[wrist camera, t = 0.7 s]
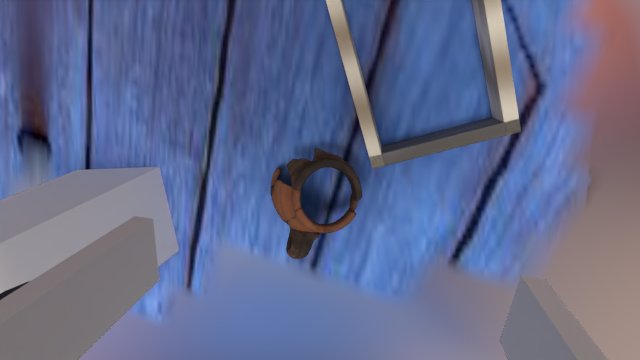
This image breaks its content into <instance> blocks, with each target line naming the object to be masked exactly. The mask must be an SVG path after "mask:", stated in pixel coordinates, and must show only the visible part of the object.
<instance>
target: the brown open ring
mask: <svg viewBox="0 0 640 360" xmlns="http://www.w3.org/2000/svg"><path fill="white" fill-rule="evenodd" d="M286 167H287V168H288V170H289V174H290V177H291V182H292V186H290V185H288V184H285V183H284V182H283V181H281V180H278V181H277V179H278V176H279V174H280V172H281V170H280V169H279V168H277V169H276V170H275V172H274V174H273V178H272V181H271V196H272V201H273V204H274V207H275V208H276V211H277V213H278V214H279V216H280V217H281V219H282V220H283V221H284V222H286V223H287V224H288V225H289V226H290V233H289V238H288V242H287V248H286V249H287V250H286V252H287V254H288V255H289V256H290V257H292V258H293V259H296V258H297V259H301V258H304V257H306V256H307V255H308V253H309V251H310V249H311V246H312V243H313V241H314V240H315V239H316V238H317V237H319V235H320V233H331V232H335V231H338V230H340V229H342V228H344V227H345V226H347V225H348V224H349V223H350V222H351V221H352V220H353V218H354V217H355V215H356V213H355V212H354V210H355V209H356V206H357V203H358V200H359V199H360V198H361V197H362V191H361V186H360V182H359V179H358V177H357V175H356V173H355V171H354V170H353V168H352V167H351V166H350V164H349V163H348V162H347V161H345V162H344V160H343V159H342V158H341V157H339V156H337V155H334V154H330V153H327V152H324V151H322V150H319V149H315V154H314V159H313V161H310V160H308V159H299V160H297V159H292V160H291V161H290V162H289V163H288V164H287V165H286ZM324 167H332V168H335V169H338V170H340V171H341V172H342V173H344V174H345V176H346V177H347V178H348V180H349V182H350V184H351V188H352V195H351V199H350V208H349V209H348V210H347V212H346V213H345V214H344V215H343V216H342V217H341V218H340V219H339V220H337V221H336V222H333V223H330V224H318V223H316V222H313V221H312V220H310V219H309V218H308V217H307V216H306V214H305V213H304V211H303V209H302V206H301V200H300V196H301V188H302V186H303V184H304V182H305V180H306V179H307V177H308V176H309V175H311V174H312V173H313V172H314V171H316V170H318V169H320V168H324Z"/></svg>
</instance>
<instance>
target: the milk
mask: <svg viewBox="0 0 640 360" xmlns="http://www.w3.org/2000/svg"><path fill="white" fill-rule="evenodd" d="M134 216H138V217H144V218H151V219H153V223H154V233H155V243H156V252H157V262H158V267H159V266H160V265H161V264H163V263H164V262H165V261H166V260H168V259H169V258H170V257H171V256H173V255H174V254H175V253H176V252H178V251H179V248H178V244H177V239H176V235H175V231H174V227H173V222H172V218H171V214H170V210H169V205H168V201H167V197H166V193H165V188H164V184H163V180H162V176H161V171H160V167H141V168H115V169H90V170H75V171H73V172H70V173H68V174H65V175H63V176H60V177H57V178H55V179H52V180H50V181H47V182H45V183H42V184H40V185H37V186H35V187H32V188H30V189H27V190H25V191H22V192H19V193H17V194H14V195H12V196H9V197H7V198H4V199H2V200H0V294H1V293H2V292H4V291H6V290H9V289H11V288H14V287H16V286H18V285H21V284H23V283H26V282H28V281H29V282H30V281H32V280H33V279H35V278H36V277H38V276H40V275H41V274H43V273H44V272H46V271H48V270H49V269H51V268H52V267H54V266H56V265H57V264H59V263H60V262H62V261H64V260H65V259H67V258H68V257H70V256H72V255H73V254H75V253H76V252H78V251H79V250H81V249H83V248H84V247H86V246H87V245H89V244H91V243H92V242H94V241H95V240H97V239H99V238H100V237H102V236H103V235H105V234H107V233H108V232H110V231H111V230H113V229H115V228H116V227H118V226H119V225H121V224H123V223H124V222H126V221H127V220H129V219H131V218H132V217H134Z"/></svg>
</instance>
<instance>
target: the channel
mask: <svg viewBox="0 0 640 360" xmlns="http://www.w3.org/2000/svg"><path fill="white" fill-rule="evenodd" d="M326 3H327V7H328V10H329V14H330V17H331V21H332V25H333V28H334V32H335V36H336V39H337V43H338V46H339V50H340V54H341V57H342V61H343V64H344V68H345V72H346V75H347V79H348V82H349V86H350V90H351V93H352V97H353V100H354V104H355V108H356V111H357V115H358V118H359V122H360V126H361V129H362V133H363V136H364V140H365V144H366V147H367V151H368V154H369V158H370V162H371V165H372V169H373V168H377V167H381V166H385V165H389V164H393V163H397V162H402V161H406V160H410V159H414V158H418V157H422V156H426V155H430V154H434V153H438V152H442V151H446V150H450V149H454V148H458V147H462V146H466V145H470V144H474V143H478V142H482V141H486V140H490V139H494V138H498V137H502V136H506V135H510V134H514V133H518V132H521V128H520V122H519V115H518V109H517V102H516V96H515V89H514V83H513V77H512V70H511V64H510V57H509V51H508V44H507V38H506V31H505V25H504V18H503V12H502V5H501V0H472V6H473V11H474V17H475V23H476V28H477V34H478V40H479V46H480V51H481V57H482V63H483V68H484V74H485V80H486V86H487V91H488V97H489V103H490V108H491V114H492V117H491V118H487V119H483V120H479V121H475V122H472V123H468V124H464V125H460V126H456V127H453V128H449V129H445V130H441V131H438V132H434V133H430V134H426V135H422V136H419V137H415V138H411V139H407V140H403V141H400V142H396V143H392V144H388V145H385V146H381V143H380V139H379V135H378V132H377V128H376V124H375V120H374V116H373V113H372V109H371V105H370V101H369V98H368V94H367V90H366V86H365V83H364V79H363V75H362V71H361V68H360V64H359V60H358V56H357V52H356V49H355V45H354V41H353V37H352V34H351V30H350V26H349V22H348V19H347V15H346V11H345V7H344V4H343V0H326Z"/></svg>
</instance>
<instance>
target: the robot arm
mask: <svg viewBox="0 0 640 360" xmlns="http://www.w3.org/2000/svg"><path fill="white" fill-rule="evenodd" d="M158 281H159V272H158V262H157V252H156V243H155V233H154V223H153V219H151V218H144V217H138V216H134V217H132V218H131V219H129V220H127V221H126V222H124V223H123V224H121V225H119V226H118V227H116V228H115V229H113V230H111V231H110V232H108V233H107V234H105V235H103V236H102V237H100V238H99V239H97V240H95V241H94V242H92V243H91V244H89V245H87V246H86V247H84V248H83V249H81V250H79V251H78V252H76V253H75V254H73V255H72V256H70V257H68V258H67V259H65V260H64V261H62V262H60V263H59V264H57V265H56V266H54V267H52V268H51V269H49V270H48V271H46V272H44V273H43V274H41V275H40V276H38V277H36V278H35V279H33V280H32V281H30V282H29V281H28V282H26V283H23V284H21V285H18V286H16V287H14V288H11V289H9V290H6V291H4V292H2V293H1V294H0V360H79V359H80V357H82V356H83V355H84V354H85V353H86V351H88V350H89V349H90V348H91V347H92V346H93V345H94V344H95V343H96V342H97V341H98V340H99V339H100V338H101V337H102V336H103V335H104V334H105V333H106V332H107V331H108V330H109V329H110V328H111V327H112V326H113V325H114V324H115V323H116V322H117V321H118V320H119V319H120V318H121V317H122V316H123V315H124V314H125V313H126V312H127V311H128V310H129V309H130V308H131V307H132V306H133V305H134V304H135V303H136V302H137V301H138V300H139V299H140V298H141V297H142V296H143V295H144V294H145V293H146V292H147V291H148V290H150V289H151V288H152V287H153V286H154V285H155V284H156V283H157V282H158ZM500 343H501V345H502V348H503V350H504V352H505V355H506V357H507V359H508V360H608V359H607V358H606V357H605V355H604V354H603V353H602V352H601V350H600V349H599V348H598V346H597V345H596V344H595V342H594V341H593V340H592V339H591V337H590V336H589V335H588V333H587V332H586V331H585V329H584V328H583V327H582V325H581V324H580V323H579V321H578V320H577V319H576V318H575V317H574V315H573V314H572V312H571V311H570V310H569V308H568V307H567V306H566V305H565V303H564V302H563V301H562V299H561V298H560V297H559V296H558V294H557V293H556V292H555V290H554V289H553V288H552V286H551V285H550V284H549V282H548V281H547V280H546V279H541V278H535V277H528V276H522V275H521V277H520V280H519V283H518V286H517V289H516V292H515V295H514V298H513V301H512V304H511V307H510V310H509V313H508V316H507V320H506V322H505V325H504V328H503V331H502V334H501V337H500Z"/></svg>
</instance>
